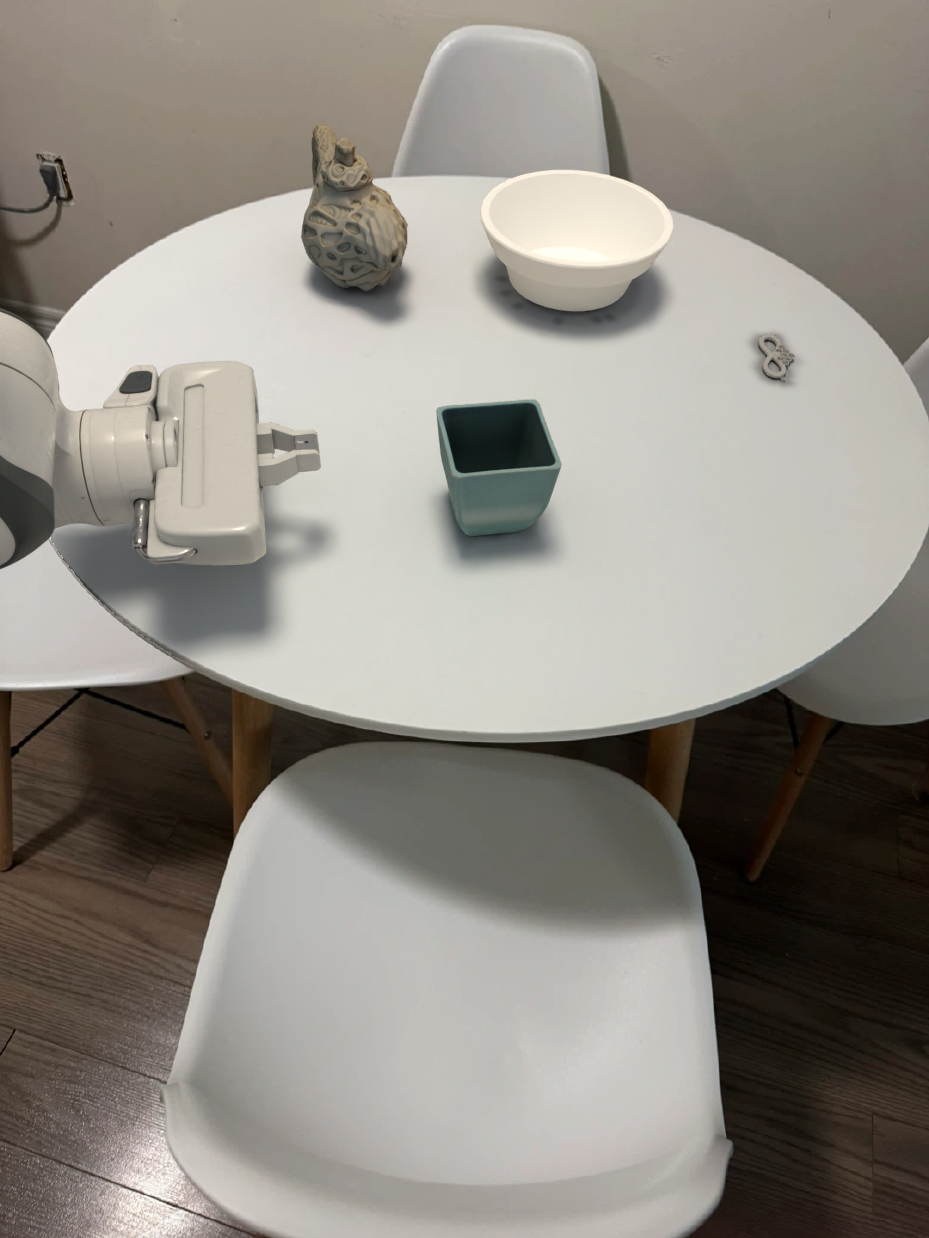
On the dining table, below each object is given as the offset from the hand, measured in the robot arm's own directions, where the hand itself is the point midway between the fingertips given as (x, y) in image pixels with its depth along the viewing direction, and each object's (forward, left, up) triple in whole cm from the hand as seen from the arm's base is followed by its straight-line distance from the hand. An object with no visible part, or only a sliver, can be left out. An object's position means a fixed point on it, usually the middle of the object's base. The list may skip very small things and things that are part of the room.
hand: (319, 449), depth 69 cm
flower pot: (+14, -1, -9) cm, 17 cm away
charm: (+49, +18, -9) cm, 53 cm away
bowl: (+30, +35, -9) cm, 47 cm away
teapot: (+6, +40, -9) cm, 41 cm away
